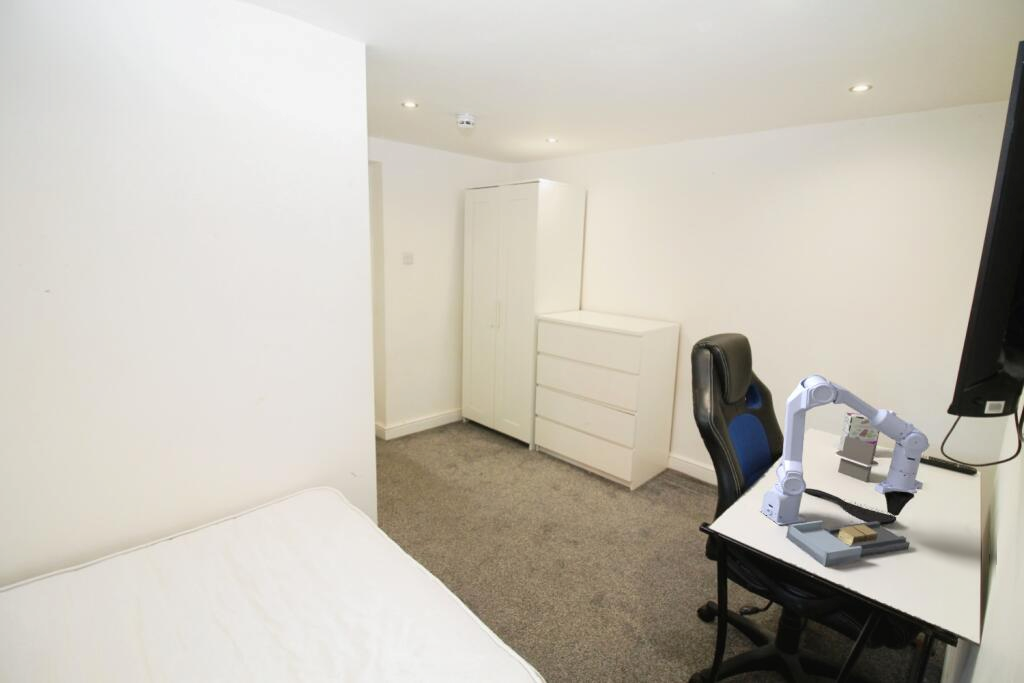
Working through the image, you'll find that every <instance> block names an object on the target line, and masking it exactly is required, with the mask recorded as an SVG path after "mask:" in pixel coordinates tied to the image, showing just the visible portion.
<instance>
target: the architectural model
mask: <svg viewBox="0 0 1024 683" xmlns="http://www.w3.org/2000/svg"><path fill="white" fill-rule="evenodd" d="M877 445H878V442H877V443H875V444H870V443H867V442H864V441H861V440H859V437H855V439H854V438H851V437H848V436H846V437H845V441H844V446H843V451H840V450H838V451H836V452H835V453H834V455H835V456H836V457H837V458H840V461H839V466H838V471H837V472H838V473H839V474H841V475H844V476H847V477H850V478H853V479H856V480H859V481H862V482H864V483H867V482H869V480H870V478H871V472H872V468H874V467H878V466H879V462H878V461H876V460H874V459H875V456H874V455H876V452H877V451H876V450H877Z"/></svg>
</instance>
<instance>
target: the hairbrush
mask: <svg viewBox="0 0 1024 683" xmlns="http://www.w3.org/2000/svg"><path fill="white" fill-rule="evenodd" d="M803 493H805V494H807V495H812V496H816V497H817V496H818V497H823V498H826V499H829V500H831V501H834V502H836V503H837V504H838V505H839V507H841V509H842V510H843V511H844V510H845V511H844V512H846V513H847V512H848V513H847V514H849V515H850V514H851V516H852V517H854V518H856V519H858V520H860V521H862V520H863V521H862V522H864V523H866V522H874V521H878V522H880V523H881V524H880V525H888V524H892V523H895V522H896V521H897V516H894V515H892V514H890V513H888V512H887V511H886V510H884V511H883V510H877V508H874V509H875V510H874V509H873V508H871V509H870V507H868V506H869V505H866V504H864V505H863V504H862V503H860V504H859V502H858V504H857V503H856V501H855V502H854V501H853V500H852V501H851V502H850V501H849V502H848V501H846V499H842V498H840V497H838V496H837V495H833V494H832V493H829V492H825V491H822V490H820V489H815V488H807V487H806V489H805V491H804V492H803ZM853 502H854V503H853ZM864 507H865V508H864Z"/></svg>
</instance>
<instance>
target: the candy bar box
mask: <svg viewBox="0 0 1024 683" xmlns="http://www.w3.org/2000/svg"><path fill="white" fill-rule="evenodd" d="M842 425H843V426H842V432H841V436H840V441H839V442H840V443H839V447H838V451H843V446H844V441H845V437H846V436H848V437H851V438H854V439H855V437H859V440H861V441H864V442H867V443H870V444H875V443H877V444H878V442H879V435H880V433H881V432H880V431H879V430H877V429H875V428H874V427H872V426H871V425H870V424H869V419H868V418H867V417H866V416H864V415H862V414H861V413H859V412H857V413H855V412H845V414H844V421H843V424H842ZM875 455H876V454H875ZM875 455H874V457H875Z"/></svg>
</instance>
